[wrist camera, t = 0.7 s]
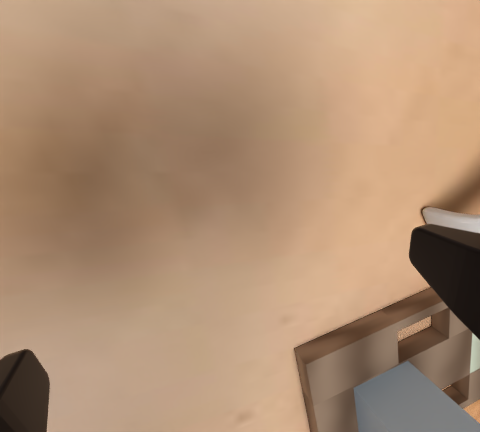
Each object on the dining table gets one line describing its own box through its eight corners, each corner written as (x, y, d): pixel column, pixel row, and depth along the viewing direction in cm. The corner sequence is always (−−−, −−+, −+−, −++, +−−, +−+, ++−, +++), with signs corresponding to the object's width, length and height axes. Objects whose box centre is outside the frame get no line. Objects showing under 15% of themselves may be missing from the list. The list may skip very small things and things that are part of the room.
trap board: (317, 465, 34) (361, 547, 27) (294, 348, 28) (343, 417, 22) (490, 370, 39) (560, 420, 33) (500, 256, 33) (587, 289, 27)
